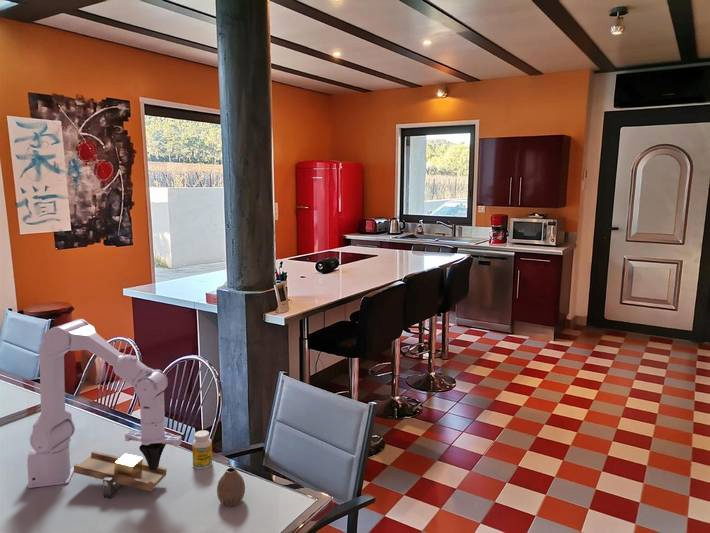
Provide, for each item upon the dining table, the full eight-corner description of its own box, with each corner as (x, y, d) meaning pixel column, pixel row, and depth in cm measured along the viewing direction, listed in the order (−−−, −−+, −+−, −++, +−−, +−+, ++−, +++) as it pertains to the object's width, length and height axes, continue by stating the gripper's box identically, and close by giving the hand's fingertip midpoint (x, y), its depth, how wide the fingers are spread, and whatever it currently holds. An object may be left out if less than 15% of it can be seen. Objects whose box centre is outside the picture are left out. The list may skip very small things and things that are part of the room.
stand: (102, 499, 129) (101, 480, 129) (130, 473, 142) (129, 456, 141) (109, 500, 129) (108, 481, 128) (137, 473, 141) (136, 456, 141)
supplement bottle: (208, 458, 151) (208, 427, 149) (214, 466, 146) (214, 434, 145) (190, 463, 148) (189, 431, 146) (195, 471, 143) (195, 439, 142)
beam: (73, 472, 132) (74, 465, 132) (92, 457, 140) (93, 450, 140) (150, 491, 130) (151, 484, 129) (166, 475, 137) (166, 468, 137)
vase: (250, 497, 132) (250, 465, 131) (235, 513, 126) (235, 479, 124) (227, 491, 134) (226, 460, 133) (211, 506, 128) (211, 473, 127)
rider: (114, 474, 132) (114, 462, 132) (124, 465, 137) (125, 453, 136) (131, 479, 132) (132, 466, 131) (141, 469, 136) (142, 457, 136)
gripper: (117, 423, 128) (119, 473, 130) (171, 428, 126) (172, 479, 128) (133, 411, 135) (134, 459, 137) (185, 416, 133) (185, 465, 135)
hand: (154, 468), depth 133 cm, fingers closed
